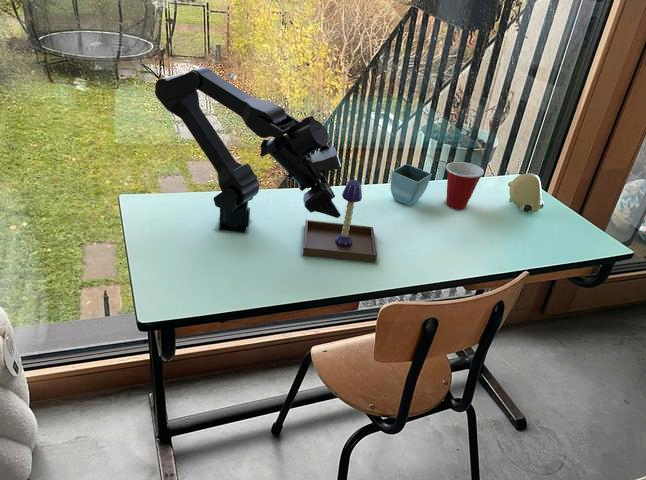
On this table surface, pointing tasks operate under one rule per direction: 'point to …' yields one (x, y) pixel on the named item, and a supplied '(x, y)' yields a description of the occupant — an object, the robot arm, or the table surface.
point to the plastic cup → (461, 183)
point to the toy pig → (526, 193)
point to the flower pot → (408, 183)
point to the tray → (324, 246)
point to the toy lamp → (349, 210)
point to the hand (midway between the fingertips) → (336, 206)
